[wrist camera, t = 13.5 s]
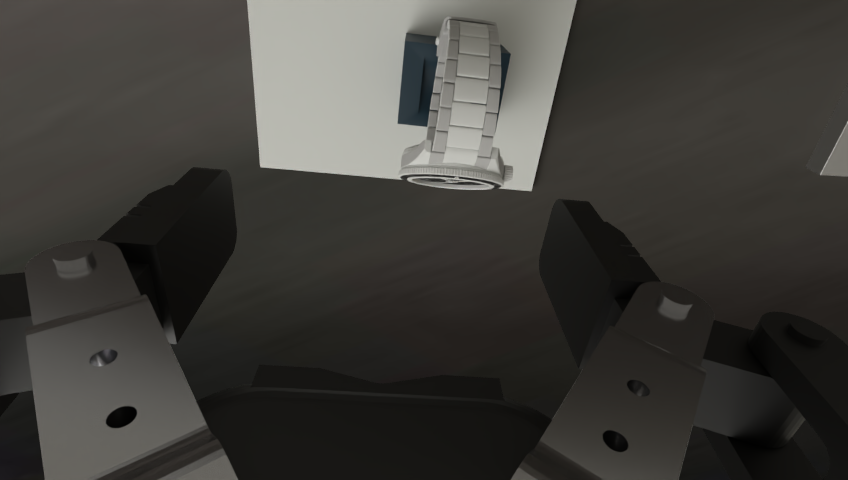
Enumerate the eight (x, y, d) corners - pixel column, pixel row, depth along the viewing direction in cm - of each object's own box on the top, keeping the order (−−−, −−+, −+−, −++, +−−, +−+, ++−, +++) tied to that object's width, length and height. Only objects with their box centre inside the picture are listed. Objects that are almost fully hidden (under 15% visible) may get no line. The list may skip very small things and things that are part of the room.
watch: (396, 139, 30) (386, 222, 21) (409, -2, 26) (404, 19, 16) (483, 149, 30) (513, 234, 21) (509, 11, 26) (561, 39, 17)
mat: (262, 164, 31) (260, 167, 31) (242, -93, 24) (239, -94, 24) (530, 188, 32) (531, 191, 32) (586, -52, 25) (588, -52, 25)
